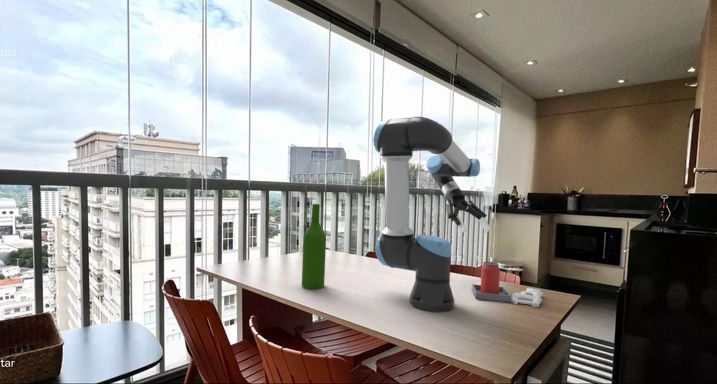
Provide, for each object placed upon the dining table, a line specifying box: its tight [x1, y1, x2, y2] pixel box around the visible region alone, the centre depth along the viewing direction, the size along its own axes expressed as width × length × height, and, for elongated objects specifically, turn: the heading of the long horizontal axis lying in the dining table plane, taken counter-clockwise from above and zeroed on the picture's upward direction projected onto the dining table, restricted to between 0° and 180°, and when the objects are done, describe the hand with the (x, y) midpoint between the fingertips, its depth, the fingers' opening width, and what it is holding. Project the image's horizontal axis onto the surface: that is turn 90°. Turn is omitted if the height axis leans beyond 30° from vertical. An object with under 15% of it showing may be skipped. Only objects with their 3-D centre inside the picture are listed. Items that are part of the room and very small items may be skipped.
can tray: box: [471, 283, 512, 304], centre depth 130 cm, size 12×12×2 cm
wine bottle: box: [301, 203, 327, 290], centre depth 135 cm, size 9×9×32 cm
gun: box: [510, 287, 544, 308], centre depth 127 cm, size 18×3×10 cm
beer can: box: [480, 261, 501, 294], centre depth 130 cm, size 7×7×12 cm
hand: (476, 230), depth 141 cm, fingers open, 13 cm apart
